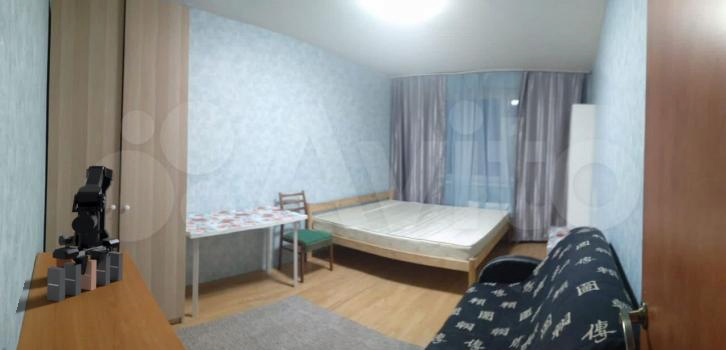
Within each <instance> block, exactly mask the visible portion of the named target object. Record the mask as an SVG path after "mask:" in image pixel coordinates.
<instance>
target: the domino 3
mask: <svg viewBox="0 0 726 350" xmlns="http://www.w3.org/2000/svg"><path fill="white" fill-rule="evenodd" d="M96 289H97V284H96V260H93V259H90V258H88V261H87V266H86V271H85V274H84V275H81V290H87V291H94V290H96Z"/></svg>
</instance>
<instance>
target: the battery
mask: <svg viewBox="0 0 726 350" xmlns="http://www.w3.org/2000/svg"><path fill="white" fill-rule="evenodd" d="M55 259H56V258H55ZM55 261H56V263H55V265H56V266H55V267H60V268H64V263H68V262H71V263H74V260H73V259H68V260H63V259H56V260H55Z"/></svg>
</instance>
